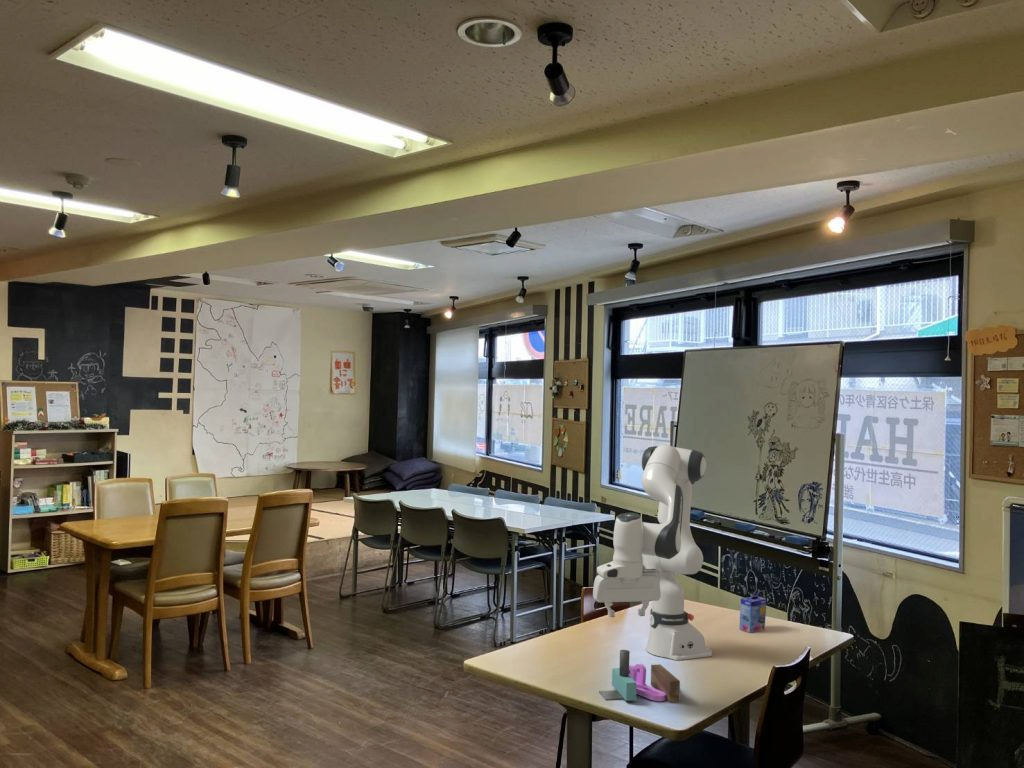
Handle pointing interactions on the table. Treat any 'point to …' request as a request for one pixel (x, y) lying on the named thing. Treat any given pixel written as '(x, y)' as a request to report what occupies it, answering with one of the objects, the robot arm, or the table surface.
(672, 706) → the table surface
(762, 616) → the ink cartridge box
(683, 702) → the table surface
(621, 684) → the clamp jaw
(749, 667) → the table surface
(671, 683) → the base
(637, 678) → the bracket
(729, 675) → the table surface
